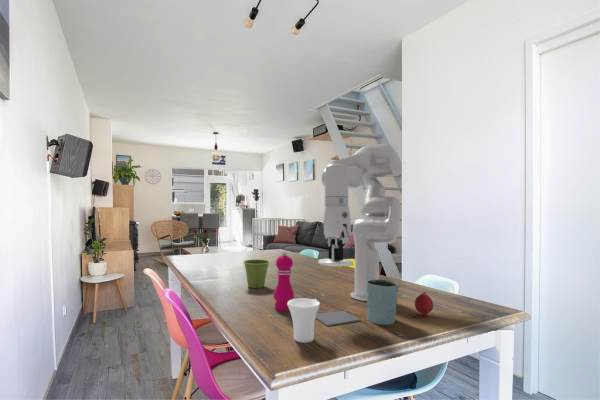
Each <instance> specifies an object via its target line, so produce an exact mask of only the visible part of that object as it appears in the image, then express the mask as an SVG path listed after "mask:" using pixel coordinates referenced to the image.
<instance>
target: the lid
mask: <svg viewBox="0 0 600 400" xmlns="http://www.w3.org/2000/svg"><path fill="white" fill-rule="evenodd" d="M334 248H335V244H332V259H329V258H321V259H318V265H320V266H321V265H322V266H326V267H349V266H350V267H351V266H353V265H354V261H353V260H351V259H345V258H343V260H341V261H335V260H334Z"/></svg>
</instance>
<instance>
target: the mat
mask: <svg viewBox="0 0 600 400" xmlns="http://www.w3.org/2000/svg"><path fill="white" fill-rule="evenodd" d="M315 320H316V321H319V322H320V323H321V324H323V325H324V326H326V327H332V326H338V325H345V324H351V323H357V322H361V319H360V318H358V317H357V316H355V315H352V314H350V312H347V311H344V310H335V311H329V312H322V313H316V318H315Z"/></svg>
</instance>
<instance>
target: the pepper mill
mask: <svg viewBox="0 0 600 400" xmlns="http://www.w3.org/2000/svg"><path fill="white" fill-rule="evenodd" d="M293 264H294V262H293V259H292V257H291V256H288V252H287V251H282V253H281V255H280V256H279V257H277V258H276V262H275V267H277V269H276V271H277V272H276V274H277V275H278V278H277V279H278V281H277V285H276V287H275V289H274V292H273V299H274V301H275V302H274V309H275V310H277V311H282V312H283V311H290V310H289V308H288V305H287V303H288V301H289V300H292V299H295V292H294V289H293V286H292V284H291V274H292V270H291V268H292V267H293Z"/></svg>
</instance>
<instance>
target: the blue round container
mask: <svg viewBox="0 0 600 400" xmlns="http://www.w3.org/2000/svg"><path fill="white" fill-rule="evenodd" d="M399 286H400V284H399V283H398V282H396V281H394V280H390V279H382V278H381V279H380V278H379V279H372V280H368V281H366V289H367V301H366V307H367V308H366V309H367V312H366V313H367V320H368V322H370V323H372V324H376V325H382V326H383V325H384V326H386V325H393V324H394V323H395V322H396V314H397V303H398V295H399Z"/></svg>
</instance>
